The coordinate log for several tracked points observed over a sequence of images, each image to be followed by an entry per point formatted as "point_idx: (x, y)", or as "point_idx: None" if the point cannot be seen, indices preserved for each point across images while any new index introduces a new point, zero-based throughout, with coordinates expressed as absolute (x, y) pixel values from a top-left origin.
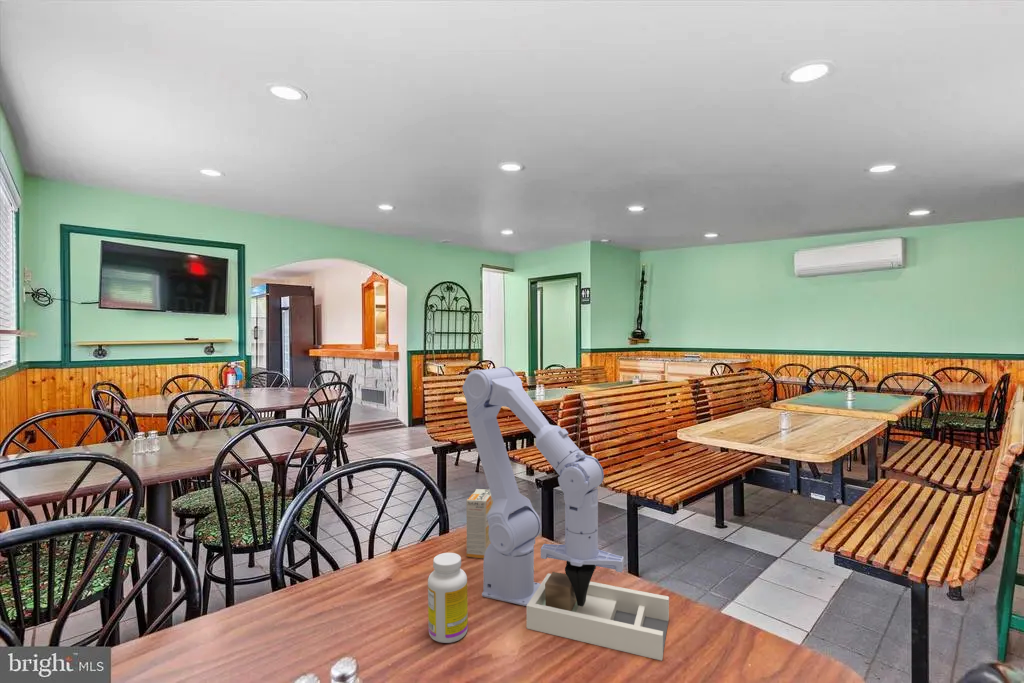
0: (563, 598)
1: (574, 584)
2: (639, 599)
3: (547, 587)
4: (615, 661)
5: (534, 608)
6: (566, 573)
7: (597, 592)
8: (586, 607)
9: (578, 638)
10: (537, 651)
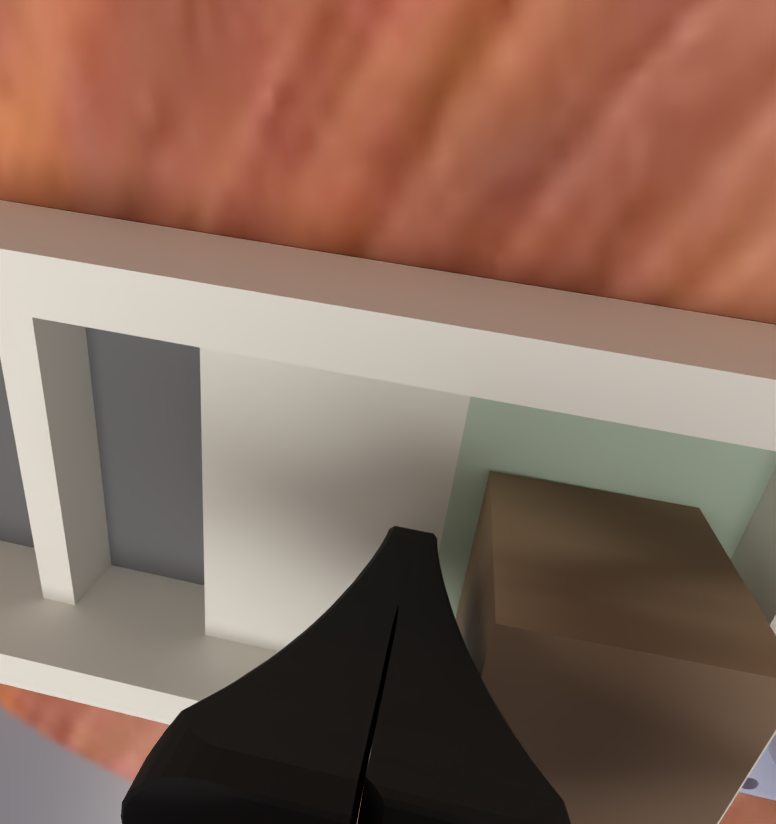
0: (557, 551)
1: (441, 663)
2: (49, 633)
3: (755, 644)
4: (139, 91)
5: None
6: (548, 793)
7: None
8: None
9: (416, 271)
10: (752, 39)
